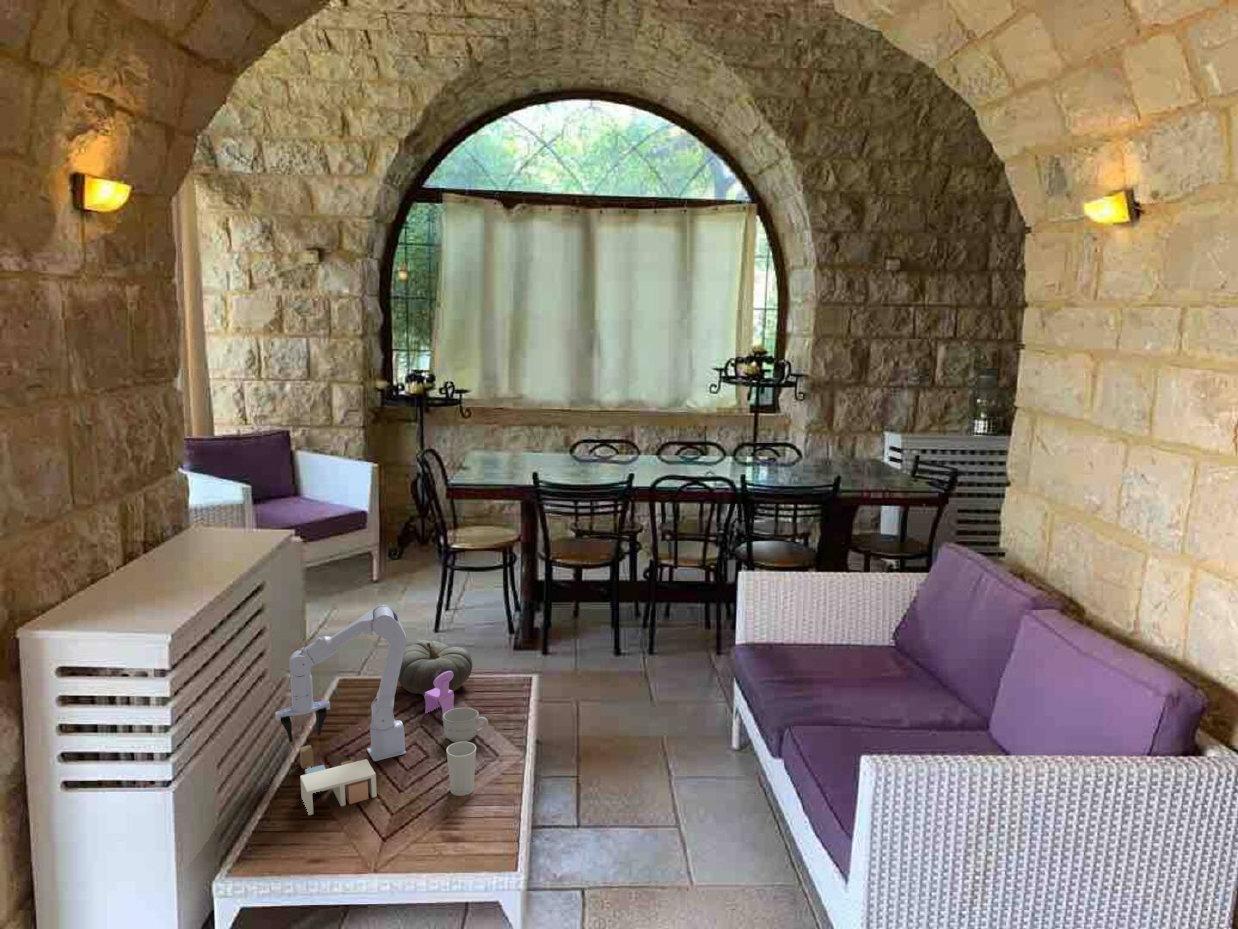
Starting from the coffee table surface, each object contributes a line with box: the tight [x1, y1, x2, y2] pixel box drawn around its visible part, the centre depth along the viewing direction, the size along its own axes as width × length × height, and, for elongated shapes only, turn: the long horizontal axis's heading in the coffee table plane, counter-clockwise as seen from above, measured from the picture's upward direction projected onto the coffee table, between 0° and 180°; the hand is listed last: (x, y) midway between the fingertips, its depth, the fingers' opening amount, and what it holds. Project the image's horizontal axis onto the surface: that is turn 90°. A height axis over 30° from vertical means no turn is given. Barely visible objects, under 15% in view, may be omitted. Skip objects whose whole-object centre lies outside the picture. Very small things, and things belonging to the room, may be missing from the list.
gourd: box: [398, 639, 473, 697], centre depth 296 cm, size 25×25×17 cm
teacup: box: [442, 707, 489, 743], centre depth 262 cm, size 14×11×8 cm
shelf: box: [299, 758, 378, 816], centre depth 230 cm, size 18×9×7 cm, turn 121°
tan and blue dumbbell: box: [299, 744, 330, 792], centre depth 240 cm, size 5×17×6 cm, turn 31°
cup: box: [445, 741, 477, 797], centre depth 234 cm, size 8×8×12 cm
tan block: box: [340, 759, 369, 805], centre depth 234 cm, size 5×12×6 cm, turn 31°
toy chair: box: [423, 671, 455, 721], centre depth 278 cm, size 8×9×15 cm
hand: (304, 737), depth 246 cm, fingers open, 7 cm apart
